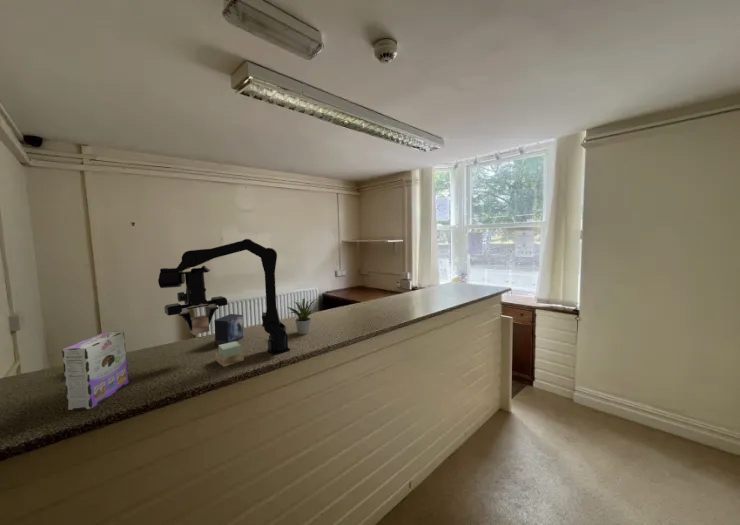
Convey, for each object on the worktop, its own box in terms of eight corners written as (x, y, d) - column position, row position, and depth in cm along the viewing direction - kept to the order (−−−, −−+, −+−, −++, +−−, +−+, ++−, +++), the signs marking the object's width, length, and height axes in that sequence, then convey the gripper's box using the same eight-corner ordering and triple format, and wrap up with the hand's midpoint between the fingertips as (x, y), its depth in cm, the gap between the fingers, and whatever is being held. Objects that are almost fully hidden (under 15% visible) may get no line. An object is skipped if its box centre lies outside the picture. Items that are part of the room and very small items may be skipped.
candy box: (109, 384, 90) (104, 331, 88) (129, 383, 90) (125, 330, 89) (66, 410, 76) (60, 348, 75) (91, 409, 76) (85, 347, 75)
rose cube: (205, 328, 110) (203, 315, 109) (209, 331, 106) (208, 317, 106) (189, 331, 106) (188, 318, 106) (193, 334, 103) (192, 320, 102)
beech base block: (235, 356, 111) (235, 348, 111) (243, 361, 106) (243, 353, 106) (216, 361, 106) (215, 353, 106) (223, 367, 101) (223, 359, 101)
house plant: (310, 325, 148) (310, 292, 146) (326, 331, 137) (325, 296, 136) (284, 331, 138) (282, 297, 137) (299, 339, 128) (297, 301, 126)
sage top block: (236, 349, 110) (236, 341, 110) (241, 353, 106) (241, 345, 105) (218, 353, 106) (218, 345, 106) (223, 358, 102) (222, 349, 101)
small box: (228, 346, 120) (227, 320, 119) (214, 345, 122) (213, 320, 121) (244, 337, 131) (243, 314, 130) (231, 336, 132) (230, 313, 131)
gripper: (216, 280, 117) (219, 318, 118) (159, 287, 104) (163, 330, 105) (226, 282, 109) (229, 324, 111) (166, 290, 96) (170, 337, 97)
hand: (199, 328), depth 106 cm, fingers closed on rose cube, 5 cm apart
